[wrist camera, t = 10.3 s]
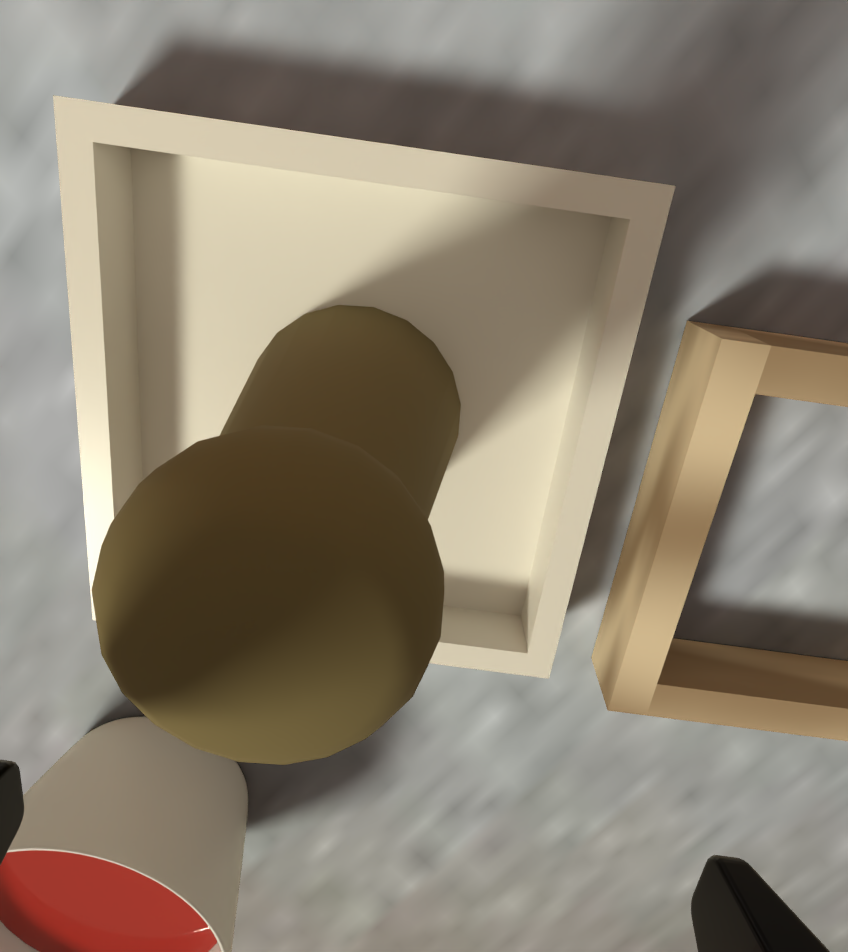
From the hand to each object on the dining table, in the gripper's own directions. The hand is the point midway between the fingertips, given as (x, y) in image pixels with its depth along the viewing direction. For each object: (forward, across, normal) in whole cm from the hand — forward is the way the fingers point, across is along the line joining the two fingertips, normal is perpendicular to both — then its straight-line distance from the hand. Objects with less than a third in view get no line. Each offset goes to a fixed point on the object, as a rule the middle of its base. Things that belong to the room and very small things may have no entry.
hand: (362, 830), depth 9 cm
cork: (+12, +2, -2) cm, 12 cm away
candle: (+13, +8, +14) cm, 21 cm away
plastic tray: (+12, +2, -2) cm, 13 cm away
